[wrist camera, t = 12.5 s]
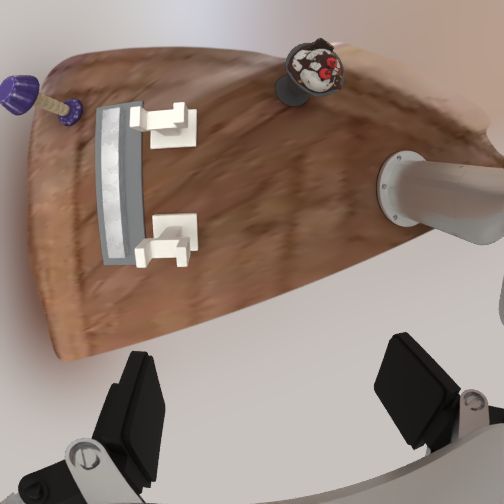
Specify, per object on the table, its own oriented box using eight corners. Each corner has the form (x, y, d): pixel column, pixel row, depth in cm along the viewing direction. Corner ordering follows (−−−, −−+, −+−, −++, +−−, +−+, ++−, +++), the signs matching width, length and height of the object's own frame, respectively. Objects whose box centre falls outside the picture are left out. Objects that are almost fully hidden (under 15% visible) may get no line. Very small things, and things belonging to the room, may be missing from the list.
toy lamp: (69, 93, 29) (3, 66, 13) (91, 100, 30) (26, 71, 14) (56, 121, 30) (-16, 109, 14) (77, 130, 31) (6, 118, 15)
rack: (197, 111, 33) (188, 87, 22) (198, 248, 38) (191, 280, 28) (153, 114, 32) (128, 93, 21) (156, 249, 38) (135, 281, 27)
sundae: (294, 121, 35) (339, 98, 21) (259, 88, 33) (284, 45, 19) (324, 94, 34) (378, 63, 20) (291, 61, 32) (329, 14, 18)
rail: (125, 110, 31) (119, 107, 28) (130, 252, 37) (125, 257, 34) (109, 113, 31) (102, 110, 28) (114, 252, 36) (108, 258, 34)
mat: (143, 101, 31) (142, 100, 31) (148, 262, 38) (147, 264, 38) (98, 108, 31) (96, 108, 30) (105, 263, 37) (104, 265, 37)
